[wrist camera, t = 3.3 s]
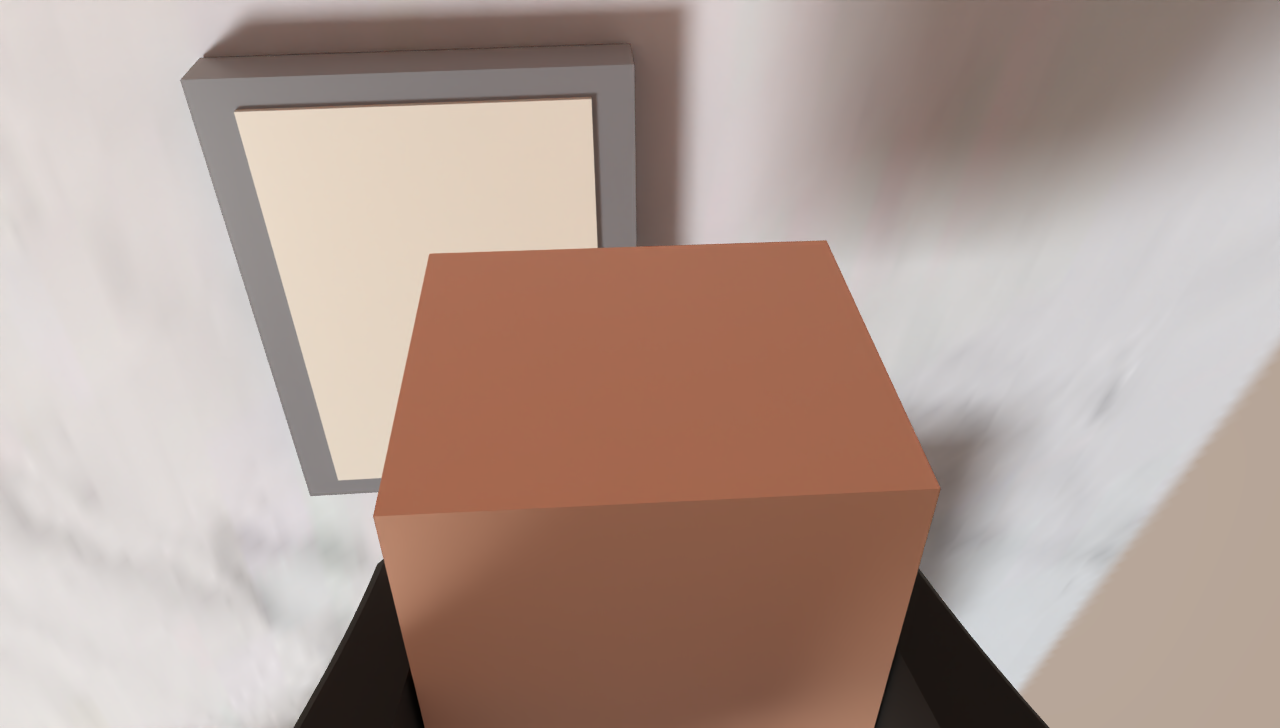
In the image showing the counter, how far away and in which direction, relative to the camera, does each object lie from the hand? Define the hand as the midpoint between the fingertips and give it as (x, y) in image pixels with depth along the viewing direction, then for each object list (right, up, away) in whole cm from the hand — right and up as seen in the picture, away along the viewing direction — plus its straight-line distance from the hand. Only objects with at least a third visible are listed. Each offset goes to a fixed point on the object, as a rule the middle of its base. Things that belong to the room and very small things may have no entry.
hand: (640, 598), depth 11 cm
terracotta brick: (0, +1, +2) cm, 2 cm away
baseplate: (-4, +4, +7) cm, 9 cm away
